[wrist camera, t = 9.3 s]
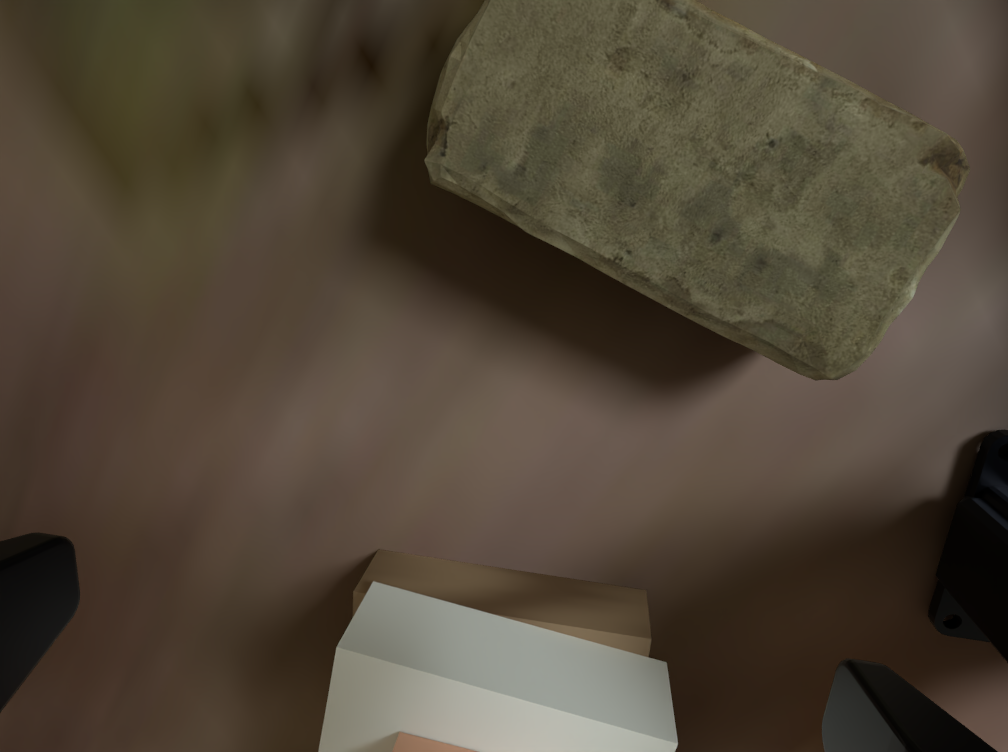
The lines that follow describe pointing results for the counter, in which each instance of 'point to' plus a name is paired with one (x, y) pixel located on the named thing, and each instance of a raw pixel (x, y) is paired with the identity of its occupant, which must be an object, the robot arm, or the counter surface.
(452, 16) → the counter surface
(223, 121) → the counter surface
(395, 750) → the cube
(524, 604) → the tower bottom
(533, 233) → the stone block
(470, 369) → the counter surface
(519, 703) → the tower top
